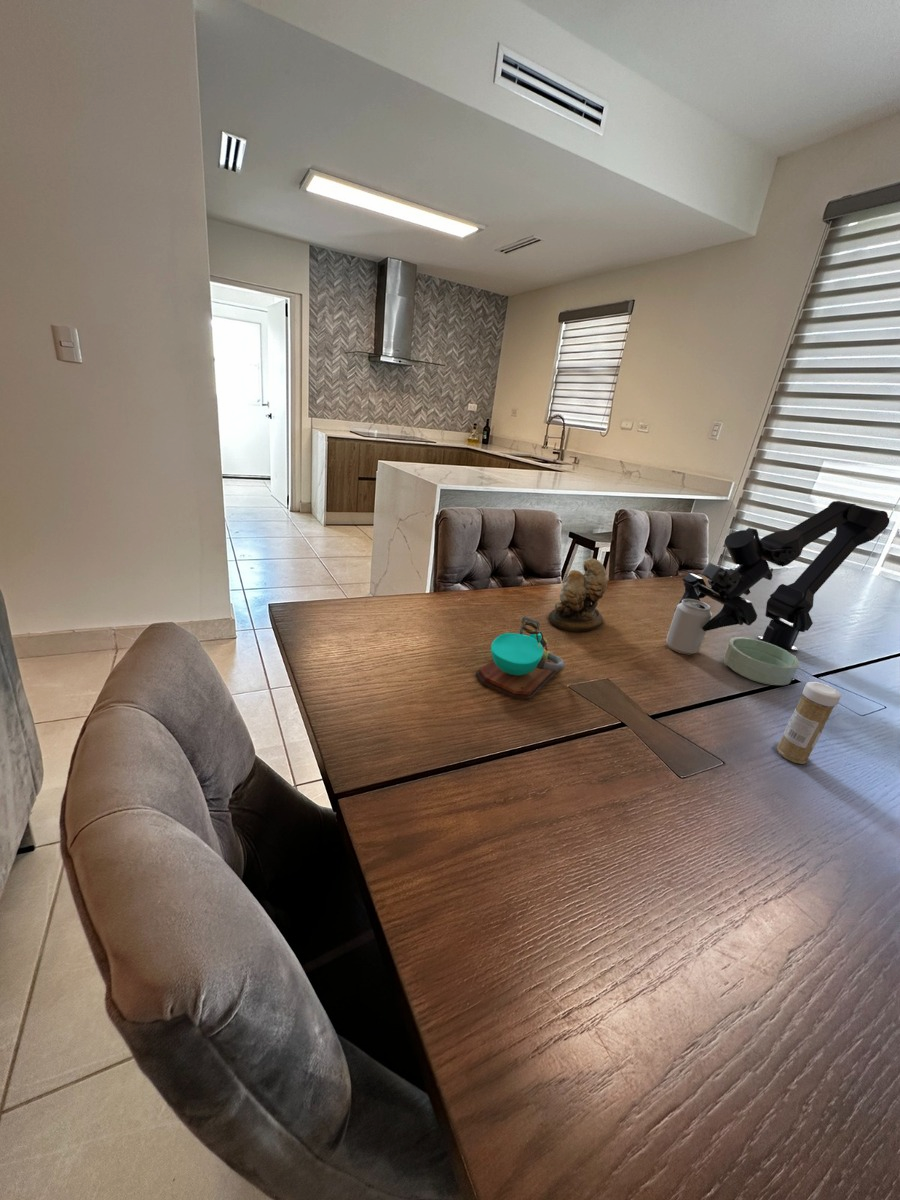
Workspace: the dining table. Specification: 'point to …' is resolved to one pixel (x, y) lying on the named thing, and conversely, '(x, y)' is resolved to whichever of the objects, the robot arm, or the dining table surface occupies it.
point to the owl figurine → (581, 598)
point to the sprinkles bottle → (807, 722)
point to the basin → (760, 661)
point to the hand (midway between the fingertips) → (688, 620)
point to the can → (688, 626)
